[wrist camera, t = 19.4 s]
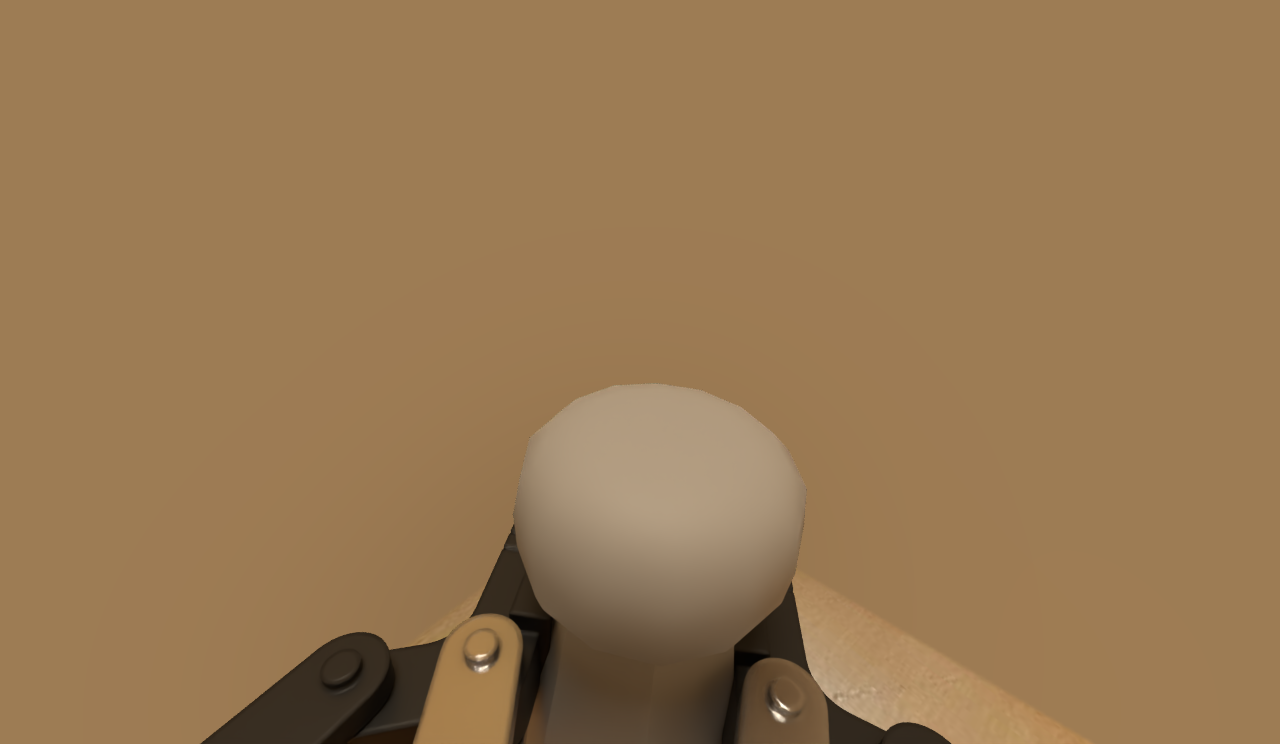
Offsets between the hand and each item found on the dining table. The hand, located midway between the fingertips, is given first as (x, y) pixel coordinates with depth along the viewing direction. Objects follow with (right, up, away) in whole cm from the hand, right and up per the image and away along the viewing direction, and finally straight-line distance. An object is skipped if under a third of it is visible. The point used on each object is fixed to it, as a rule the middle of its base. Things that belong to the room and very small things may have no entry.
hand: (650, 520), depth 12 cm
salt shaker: (-1, -9, +2) cm, 9 cm away
